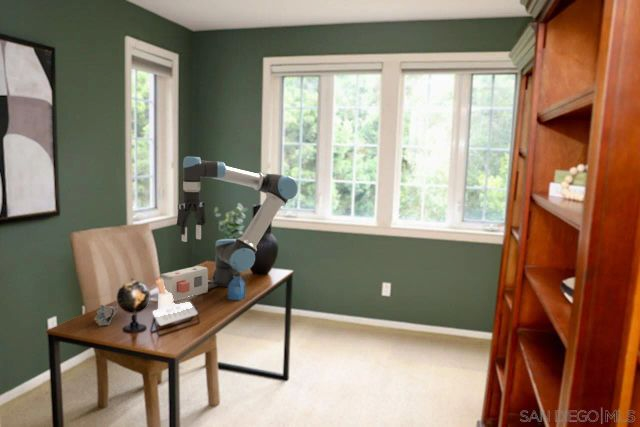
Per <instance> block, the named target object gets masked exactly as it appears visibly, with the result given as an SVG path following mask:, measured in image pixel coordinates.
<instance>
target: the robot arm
mask: <svg viewBox="0 0 640 427" xmlns="http://www.w3.org/2000/svg"><path fill="white" fill-rule="evenodd" d="M182 162H183V163H182V168H183V169H182V175H183V184H182V189H183V194H182V196H183V197H182V198H183V202H182V203H181V204H180V203H179V204H177V209H178V211H177V212H178V213H177V220H176V226H177V227H179V228H180V235H181V242H184V243H186V242H188V227H187V223H188V220H189V217H190V214H191V213H193V214H194V217H195V221H196V223H197V224H195V239H197V240H202V232H203V226H204V224H206V223H207V220H206V211H205V207H206V203H205V202H203V201H202V202H200V199H201V179H203V178H205V179H213V180H219V181H223V182H228V183H233V184H235V185H239V186H244V187H245V186H246V187H249V188H253V190H255V191H258V192H262V193H264V194H265V197H266V198H265V200H263V202H262V204H261V205H260V206H259V209H258V210H257V212H256V214H255V215H254V217H253V218H252V220H251V221H250V223H249V224H248V226H247V227H246V229H245V231H244V233H243V234H242V235H241V236H240V237H237V238H221V239H218V240H216V241H215V246H214V247H215V257H214V258H215V260H214V261H215V262H214V263H215V265H214V266H215V267H214V272H213V273H212V276H211V283H213V284H212V285H216V287H217V286H218V287H228V286H229V284H230V282H231V281H232V280H233V279H234V278H233V275H234V273H235V272H245V271H248V270H250V269H251V268H252V267H253V266H254V264H255V261H256V255H255V254H256V253H257V251H258V249H257V245H258V244H259V242H260V240H261V239H262V238H263V236H264V234H265V233H266V231H267V230H268V228H269V226H270V225H271V223H272V222H273V220H274V218H275V216H276V215H277V214H278V212H279V210H280V208H281V207H282V206H285V205H286V204H287V203H288V201H289V200H292V199H294V198H295V197H296V196H297V194H298V192H299V191H298V190H299V187H298V183H297V181H296V179H295V178H293V177H292V176H289V175H286V174H285V175H283V174H277V173H276V174H275V173H265V172H257V173H255V172H251V171H248V170H244V169H239V168H235V167H231V166H227V165H226V164H225V162H223V161H218V160H217V161H212V160H211V161H210V160H203V159H201V157H200V156H185V157H184V158H183V161H182ZM240 279H242V277H241V278H240Z"/></svg>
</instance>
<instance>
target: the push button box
mask: <svg viewBox="0 0 640 427" xmlns="http://www.w3.org/2000/svg"><path fill="white" fill-rule="evenodd" d="M208 268H209V267H206V266H202V265H194V266H189V267H186V268H181V269H177V270H172V271H168V272H164V273H160V276H159V278H160V277H161V278H163V280H164V286H165V289H166V290H167V291H168V292H170V293H172V295H173V298H174V301H175V302H179V301H182V300H185V299H184V298H186V299H188V298H187V297H188V296H192V295H196V296H199V295H202V294H205V293H208V291H209V290H210V289H213V288H216V287H217V286H216V285H214V284H212V285H209V283H208V282H209V269H208ZM199 276H201V277H202V285H199V286H196V287H194V278H195V277H199ZM180 281H186V282H189V283H190V291H188V292H185V293H181V292H178V291H177V282H180ZM192 297H193V296H192ZM181 299H182V300H181ZM178 300H179V301H178ZM175 302H174V303H175Z"/></svg>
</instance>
